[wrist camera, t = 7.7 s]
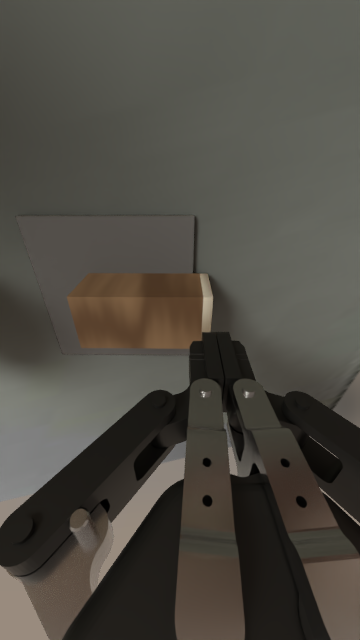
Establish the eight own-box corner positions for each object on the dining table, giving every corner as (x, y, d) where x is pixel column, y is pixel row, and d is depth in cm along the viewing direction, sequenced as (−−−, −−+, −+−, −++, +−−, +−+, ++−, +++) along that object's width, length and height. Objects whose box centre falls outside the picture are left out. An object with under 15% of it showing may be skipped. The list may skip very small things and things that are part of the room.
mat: (18, 215, 16) (15, 216, 16) (194, 215, 16) (194, 216, 16) (64, 351, 23) (62, 354, 22) (190, 352, 23) (190, 355, 22)
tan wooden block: (207, 273, 18) (88, 273, 18) (213, 297, 15) (66, 296, 15) (204, 318, 20) (98, 318, 20) (209, 348, 17) (81, 347, 17)
